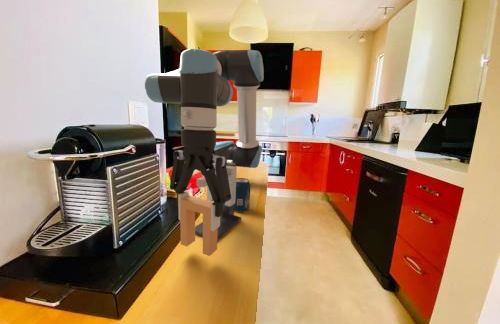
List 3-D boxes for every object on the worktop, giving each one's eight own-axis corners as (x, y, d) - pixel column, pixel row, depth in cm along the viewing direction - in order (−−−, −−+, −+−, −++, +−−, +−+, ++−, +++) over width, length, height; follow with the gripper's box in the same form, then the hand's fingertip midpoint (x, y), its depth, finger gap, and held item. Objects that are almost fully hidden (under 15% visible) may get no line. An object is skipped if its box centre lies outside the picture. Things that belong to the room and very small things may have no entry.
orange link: (189, 238, 53) (188, 195, 51) (217, 249, 49) (218, 203, 47) (180, 244, 50) (179, 199, 48) (209, 256, 47) (210, 207, 44)
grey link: (212, 197, 69) (213, 163, 67) (235, 203, 65) (236, 167, 63) (207, 200, 66) (207, 164, 64) (230, 206, 62) (231, 168, 60)
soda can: (233, 205, 83) (234, 177, 81) (250, 206, 83) (251, 178, 80) (230, 212, 76) (231, 182, 74) (248, 213, 76) (249, 183, 73)
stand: (219, 214, 74) (221, 161, 71) (241, 220, 71) (243, 164, 67) (187, 235, 60) (186, 170, 56) (212, 244, 56) (213, 175, 52)
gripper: (150, 125, 46) (154, 217, 50) (232, 132, 36) (228, 244, 41) (176, 126, 52) (177, 207, 57) (250, 131, 43) (245, 228, 47)
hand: (198, 222), depth 49 cm, fingers closed on orange link, 9 cm apart
